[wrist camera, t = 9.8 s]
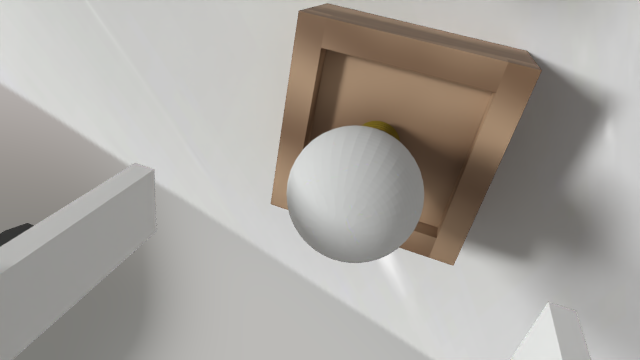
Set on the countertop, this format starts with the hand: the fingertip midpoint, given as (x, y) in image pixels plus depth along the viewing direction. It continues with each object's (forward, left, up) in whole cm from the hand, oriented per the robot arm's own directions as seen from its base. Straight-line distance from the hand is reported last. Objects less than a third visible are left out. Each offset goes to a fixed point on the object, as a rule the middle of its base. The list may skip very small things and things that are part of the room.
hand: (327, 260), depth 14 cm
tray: (0, 0, -16) cm, 16 cm away
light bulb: (0, 0, -12) cm, 12 cm away
